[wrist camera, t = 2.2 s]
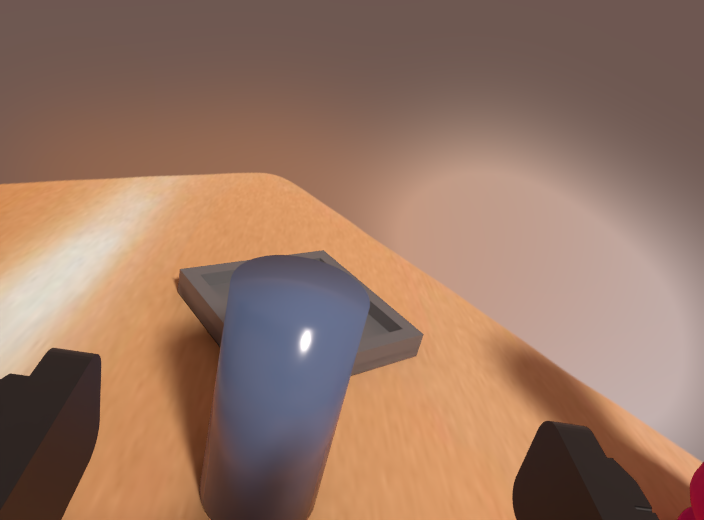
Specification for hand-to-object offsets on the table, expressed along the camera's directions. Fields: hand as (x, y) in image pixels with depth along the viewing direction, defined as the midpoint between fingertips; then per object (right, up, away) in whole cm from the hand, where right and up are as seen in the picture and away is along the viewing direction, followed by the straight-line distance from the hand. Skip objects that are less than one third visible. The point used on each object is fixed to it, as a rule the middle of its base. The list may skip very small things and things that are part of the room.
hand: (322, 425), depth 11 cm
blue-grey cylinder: (-4, -8, +17) cm, 19 cm away
